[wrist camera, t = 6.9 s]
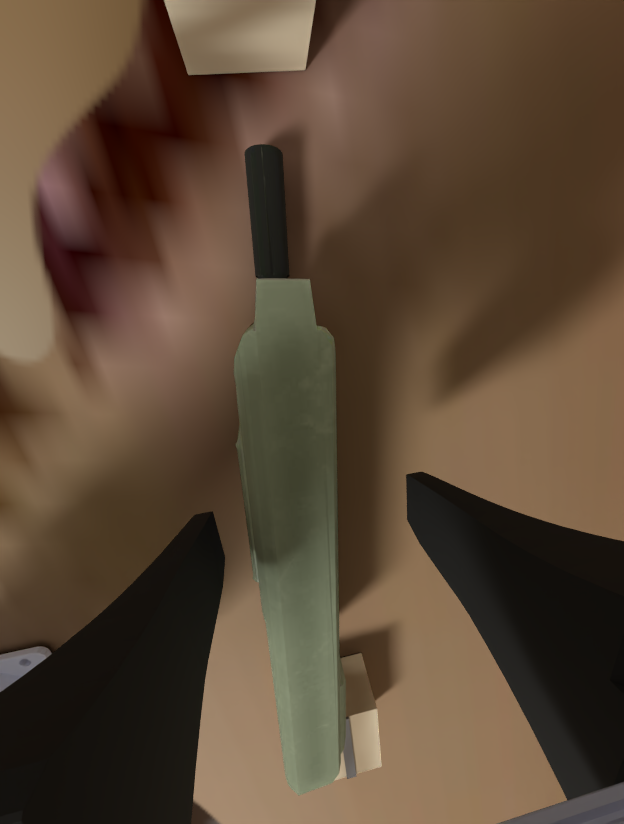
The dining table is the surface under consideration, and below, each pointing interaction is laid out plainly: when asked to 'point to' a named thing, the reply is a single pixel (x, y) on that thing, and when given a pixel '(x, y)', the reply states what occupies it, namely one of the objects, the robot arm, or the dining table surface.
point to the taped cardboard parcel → (265, 52)
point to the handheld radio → (292, 487)
